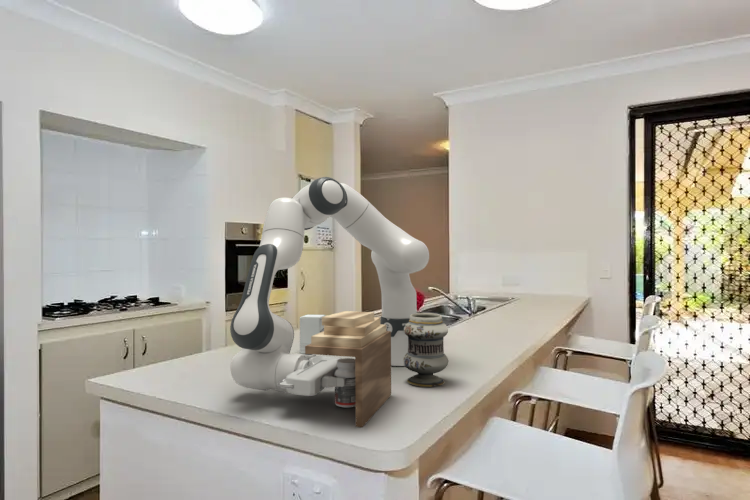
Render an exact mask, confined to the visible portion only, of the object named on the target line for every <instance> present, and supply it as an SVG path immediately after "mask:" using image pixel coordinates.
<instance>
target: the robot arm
mask: <svg viewBox="0 0 750 500" xmlns="http://www.w3.org/2000/svg"><path fill="white" fill-rule="evenodd" d="M329 218H333V219H335V221H336V222H337V224H339V225H340V226H341V227H342V228H343V229H344V230H345V231H347V232H348V233H349V235H351V236H352V237H353V238H354V239H355V240H356V241H357V242H359V244H360V245H362V246H363V247H366V248H367V249H368V250H370V251H371V256H370V259H371V262H372V263H373V264H374V267H375V269H376V273H377V276H378V281H379V286H380V291H381V292H380V295H381V316H380V324H383V325H386V331H391V367H392V366H393V367H396V366H397V367H406V366H405V365H404V363H403V358H404V356H405V355H406V353H408V336H407V335H406V334H405V333H404V326H405V325H406V324H407V323H408V322H409V320H410V315H411V314H415V313H418V312H417V311H418V310H417V309H418V308H417V302H418V301H417V297H418V296H417V291H416V288H415V287H414V285H413V284H412V281H411V280H412V279H411V277H410V274H415V273H417V272H420V271H422V270H424V269H425V268H426V267H427V265H428V264H429V261H430V251H429V248H428V247H427V245H426V244H425V242H423V241H422V240H419V239H417V238H415V237H413V236H412V235H411V234H409V233H408V232H406V231H405V230H403V229H402V228H401V227H400V226H397V225H396V224H394V223H393V222H392V221H390V220H389V219H388V218H386V217H385V216H384V215H383V214H382V213H381V211H379V210H378V209H377V208H376V207H375V206H374V205H373V203H371V202H370V201H369V200H368V199H367V198H365V197H364V196H363V194H361V193H360V192H358V191H357V190H356V189H354V188H353V187H352V186H350V185H348V184H347V183H344V182H340V181H338V180H337V179H335V178H332V177H329V176H323V177H319V178H316V179H315V180H313V181H312V182H311V183H308V184H307V185H306V186H304V187H302V188H300V190H299V191H298V192H297V193H296V194H295V195H294V196H293V197H279V198H276V199H274V200H273V201H272V202H271V203H270V205H269V207H268V208H267V212H266V215H265V218H264V222H263V228H262V231H261V239H260V243H259V246H258V247H257V249H256V250H255V251H254V254H253V256H252V258H251V261H250V265H249V269H248V273H247V277H246V280H245V284H244V288H243V292H242V294H241V295H242V296H241V299H240V302H239V304H238V307H236V308H237V309H236V310H235V312H234V314H233V316H232V319H231V321H230V327H229V331H230V336H231V339H232V341H233V342H234V344H235V345H236V346H238V347H239V348H241V349H240V351H238V352H237V353H235V354H234V355H233V357H232V358H231V361H230V375H231V378H232V379H233V381H234V382H235V383H236V384H237V385H239V386H241V387H244V388H246V389H251V390H259V391H268V390H275V391H277V392H280V393H288V394H293V395H298V396H303V397H304V396H305V397H313V396H316V395H317V394H319V393H320V392H321V391H323V390H325V388H326V389H329V388H335V387H336V386H338V387H343V386H345V385H346V378H345V377H335V372H336V370H338V367H337V360H339V359H343V358H342V357H339V356H331V355H316V354H303V353H291V350H292V347H293V344H294V338H295V331H294V327H293V325H292V323H290V322H289V321H288V320H287V319H285V318H284V317H281V316H279V315H278V314H276V313H273V312H272V310H271V308H270V297H271V293H272V290H273V289H272V288H273V283H274V280H275V276H276V273H277V272H278V271H280V270H288V269H290V268H292V267H293V266H295V265H296V264H298V263H299V261H300V259H301V257H302V253H303V249H304V243H305V242H304V241H305V231H308V230H311V229H313V228H314V227H317V226H318V225H320V224H323V223H324V222H326V221H327V219H329Z"/></svg>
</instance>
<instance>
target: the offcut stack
mask: <svg viewBox="0 0 750 500" xmlns="http://www.w3.org/2000/svg"><path fill="white" fill-rule="evenodd" d="M380 320H381V316H379V317H378V316H377V317H376V316H375V312H373V311H372V312H371V311H356V310H351V311H350V310H343V311H340V312H335V313H332V314H328V315H325V316H324V317H322V325H323V326H324V331H323V332H320V333H318V334H316V335H313V336H311V345H322V346H339V347H356V348H361V347H363V346H365V345H366V344H368V343H370V342H371V341H373V340H374V339H376V338H378V337H379V336H381V335H383V334H384V333H386V325H383V324H380Z"/></svg>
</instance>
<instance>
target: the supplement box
mask: <svg viewBox="0 0 750 500" xmlns="http://www.w3.org/2000/svg"><path fill="white" fill-rule="evenodd" d="M324 316H326V314H305V315H302V316H300V317H299V354H305V346H307V345H309V344H311V336H313V335H316V334H318V333H320V332H323V331H324V326H323V325H322V317H324Z"/></svg>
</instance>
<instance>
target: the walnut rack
mask: <svg viewBox="0 0 750 500" xmlns="http://www.w3.org/2000/svg"><path fill="white" fill-rule="evenodd" d="M305 354H316V356H331V357H346V358H349V357H351V358H354V359H355V395H356V406H355V428H364V426H366V424H367V423H368V422H369V421H370V420H371V418H372V417H373V416H374V415H375V414H376V413H377V412H378V411H379V409H380V408H382V406H383V405H385V403H386V402H387V401H388V399H390V397H391V396H392V365H391V331H386V333H384V334H383V335H381V336H379V337H378V338H376V339H374V340H373V341H371V342H370V343H368V344H366V345H365V346H363V347H361V348H356V347H339V346H322V345H311V344H309V345H307V346H305Z"/></svg>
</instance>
